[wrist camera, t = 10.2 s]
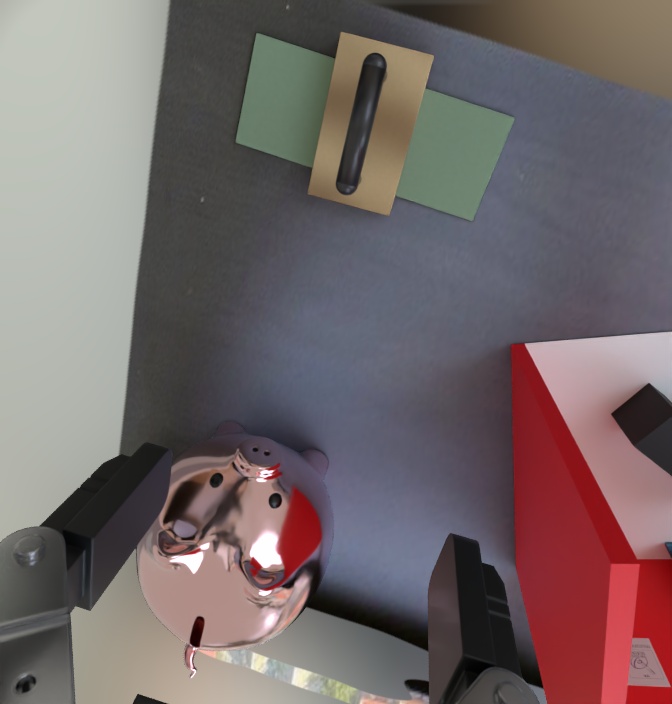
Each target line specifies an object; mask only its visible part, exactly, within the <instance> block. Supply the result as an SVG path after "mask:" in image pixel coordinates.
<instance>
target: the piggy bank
mask: <svg viewBox="0 0 672 704" xmlns="http://www.w3.org/2000/svg"><path fill="white" fill-rule="evenodd" d="M327 469H328V459H327V457H326V456H325V455H324V454H323V453H321V452H320V451H317V450H313V449H308V450H305V451H303V452H302V453H298V452H296V451H295V450H293V449H291V448H289V447H287V446H285V445H282V444H280V443H277V442H275V441H273V440H271V439H269V438H267V437H259V436H255V435H250V434H246V431H245V429H244V428H243V426H241V425H240V424H238V423H236V422H233V421H225V422H223V423H221V424H220V425H219V426H218V428H217V430H216V432H215V434H214V436H213V437H212V438H209V439H207V440H204V441H202V442H200V443H198V444H195V445H194V446H192V447H190V448H188V449H187V450H185V451H184V452H183V453H181V454H180V455H179V456H178V457H176V458H175V459H174V460H173V461H172V468H171V477H170V485H169V493H168V497H167V500H166V503H165V505H164V508H163V510H162V511H161V513H160V515H159V516H158V517H157V519H156V520H155V522H154V523H153V524H152V526H151V527H150V528H149V530H148V531H147V533H146V534H145V535H144V537H143V538H142V540H141V541H140V542H139V544H138V545H137V547H136V561H137V573H138V578H139V583H140V587H141V591H142V594H143V596H144V599H145V601H146V603H147V605H148V606H149V608H150V610H151V611H152V613H153V614H154V615H155V616H156V618H157V619H158V620H159V621H160V622H161V623H162V624H163V625H164V626H165V627H166V628H167V629H168V630H169V631H170V632H171V633H173V634H174V635H175V636H176V637H177V638H179V639H180V640H182V641H183V642H184V643H186V646H185V649H184V663H185V666H186V667H187V669H188V670H191V671H192V672H191V675H190V678H192V677H193V676H194V674H195V673H196V671H197V669H196V668H195V667H194V664H193V659H194V656H195V654H196V652H197V650H198V649H200V650H206V651H230V650H240V649H246V648H251V647H255V646H257V645H260V644H263V643H265V642H267V641H269V640H271V639H272V638H274V637H275V636H277V635H278V634H280V633H281V632H282V631H284V630H285V629H286V628H287V627H288V626H290V625H291V624H292V623H293V622H294V621H295V620H296V619H297V617H298V616H299V615H300V614H301V613H302V612H303V611H304V609H305V608H306V607H307V605H308V604H309V602H310V601H311V599H312V598H313V596H314V594H315V593H316V591H317V589H318V587H319V585H320V583H321V581H322V579H323V576H324V574H325V571H326V568H327V565H328V562H329V559H330V555H331V550H332V545H333V538H334V517H333V510H332V505H331V501H330V497H329V494H328V491H327V488H326V486H325V483H324V478H325V475H326V472H327Z"/></svg>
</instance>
